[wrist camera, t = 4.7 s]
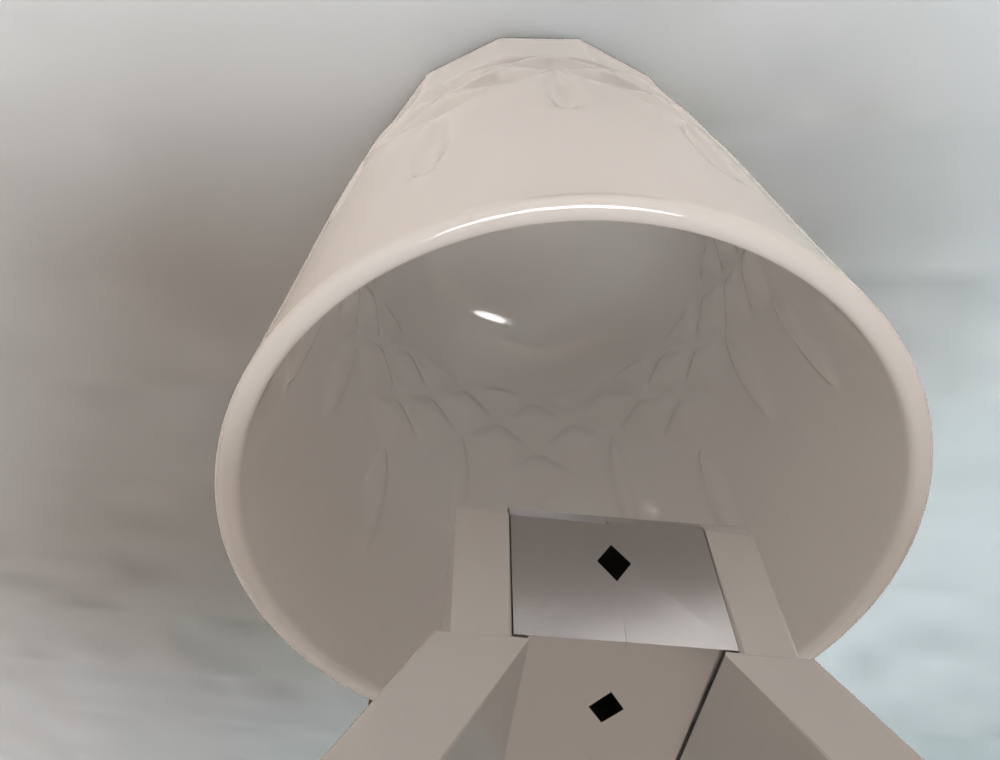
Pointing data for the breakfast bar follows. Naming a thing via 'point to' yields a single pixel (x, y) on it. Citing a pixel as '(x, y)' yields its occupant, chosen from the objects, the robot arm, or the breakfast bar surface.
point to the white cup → (560, 365)
